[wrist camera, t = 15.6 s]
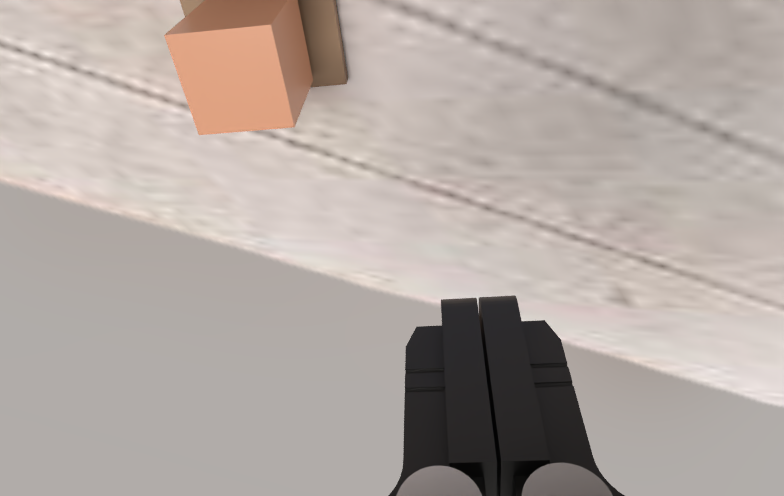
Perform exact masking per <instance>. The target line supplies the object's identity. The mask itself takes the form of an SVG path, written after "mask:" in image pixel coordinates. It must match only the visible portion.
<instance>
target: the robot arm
mask: <svg viewBox="0 0 784 496" xmlns="http://www.w3.org/2000/svg"><path fill="white" fill-rule="evenodd" d="M441 311H442V326H424V327H416V329H415V331H414V333H413V335H412V336H411V338H410V340H409V342H408V344H407V346H406V365H405V366H406V367H405V370H406V374H405V411H404V414H405V415H404V460H403V469H402V473H401V477H400V479H399V481H398V483H397V485H396V487H395V488H394V490H393V491H392V492H391V493H390V495H389V496H624V495H622V494H621V493H620V492H618V491H617V490H616V489H615V488H614V487H612V486H611V485H610V484H609V483H608V482H607V480H606V479H605V478H604V477H603V476H602V474H601V473H600V471H599V469H598V468H597V466H596V464H595V461H594V458H593V455H592V452H591V448H590V445H589V441H588V437H587V434H586V430H585V426H584V423H583V419H582V416H581V412H580V408H579V405H578V401H577V398H576V394H575V390H574V387H573V385H572V379H571V375H570V372H569V368H568V367H567V361H566V358H565V353H564V350H563V346H562V342H561V339H560V338H559V337H558V336H557V335H556V333H555V332H554V331H553V330H552V329H551V328H550V326H549V325H548V324H547V323H546V322H545V320H543V321H522V322H521V317H520V312H519V307H518V302H517V299H516V296H499V297H480V298H479V313H478V305H477V299H476V298H464V299H446V300H441Z"/></svg>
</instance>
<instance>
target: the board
mask: <svg viewBox="0 0 784 496" xmlns="http://www.w3.org/2000/svg"><path fill="white" fill-rule="evenodd" d="M203 1H205V0H180V2H181V6H182V9H183V12H184V15H185V17H186V16H187V15H188V14H190V13H191V12H192V11H193V10H194V9H195V8H196V7H198V6H199V5H200V4H201V3H202V2H203ZM298 5H299V10H300V15H301V20H302V25H303V31H304V36H305V41H306V46H307V51H308V56H309V61H310V66H311V71H312V76H313V82H312V84H311V87H319V86H330V85H341V84H347V80H348V75H347V69H346V63H345V56H344V50H343V44H342V37H341V31H340V25H339V19H338V12H337V6H336V0H298Z"/></svg>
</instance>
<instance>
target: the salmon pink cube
mask: <svg viewBox="0 0 784 496" xmlns="http://www.w3.org/2000/svg"><path fill="white" fill-rule="evenodd" d="M164 36H165V39H166V42H167V45H168V47H169V50H170V53H171V56H172V59H173V62H174V65H175V67H176V70H177V73H178V76H179V79H180V82H181V85H182V88H183V90H184V93H185V96H186V99H187V102H188V105H189V108H190V111H191V113H192V116H193V119H194V122H195V125H196V128H197V131H198V134H199V135H205V134H217V133H229V132H242V131H254V130H266V129H278V128H291V127H295V125H296V122H297V119H298V117H299V114H300V112H301V109H302V107H303V104H304V102H305V99H306V97H307V94H308V92H309V89H310V87H311V84H312V82H313V76H312V71H311V66H310V61H309V56H308V51H307V46H306V41H305V36H304V31H303V25H302V20H301V15H300V10H299V5H298V0H205V1H203V2H202V3H201V4H200V5H199V6H198V7H196V8H195V9H194V10H193V11H192V12H191V13H190V14H188V15H187V16H186V17H185V18H184V19H183V20H181V21H180V22H179V23H178V24H177V25H176V26H174V27H173V28H172V29H171V30H170V31H169V32H167V33H166V34H165V35H164Z"/></svg>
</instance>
